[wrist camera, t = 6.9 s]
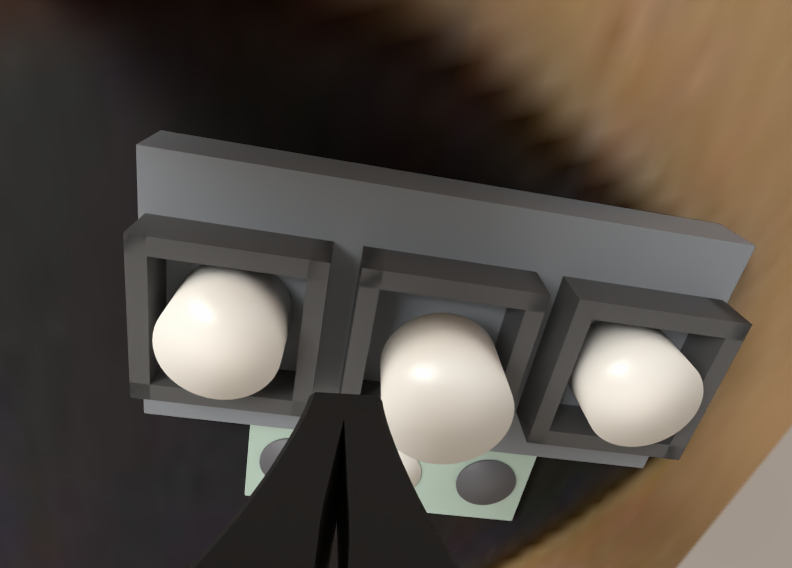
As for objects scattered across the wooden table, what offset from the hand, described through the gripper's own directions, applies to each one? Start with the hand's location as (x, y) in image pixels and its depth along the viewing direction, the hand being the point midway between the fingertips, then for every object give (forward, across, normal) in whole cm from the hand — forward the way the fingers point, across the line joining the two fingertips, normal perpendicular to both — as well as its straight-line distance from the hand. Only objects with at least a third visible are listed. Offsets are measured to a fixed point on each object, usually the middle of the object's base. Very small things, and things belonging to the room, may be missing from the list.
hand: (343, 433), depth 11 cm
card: (+9, -2, +10) cm, 14 cm away
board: (+9, -3, +2) cm, 10 cm away
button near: (+7, +4, +2) cm, 8 cm away
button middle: (+6, -3, +2) cm, 6 cm away
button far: (+7, -9, +2) cm, 12 cm away
